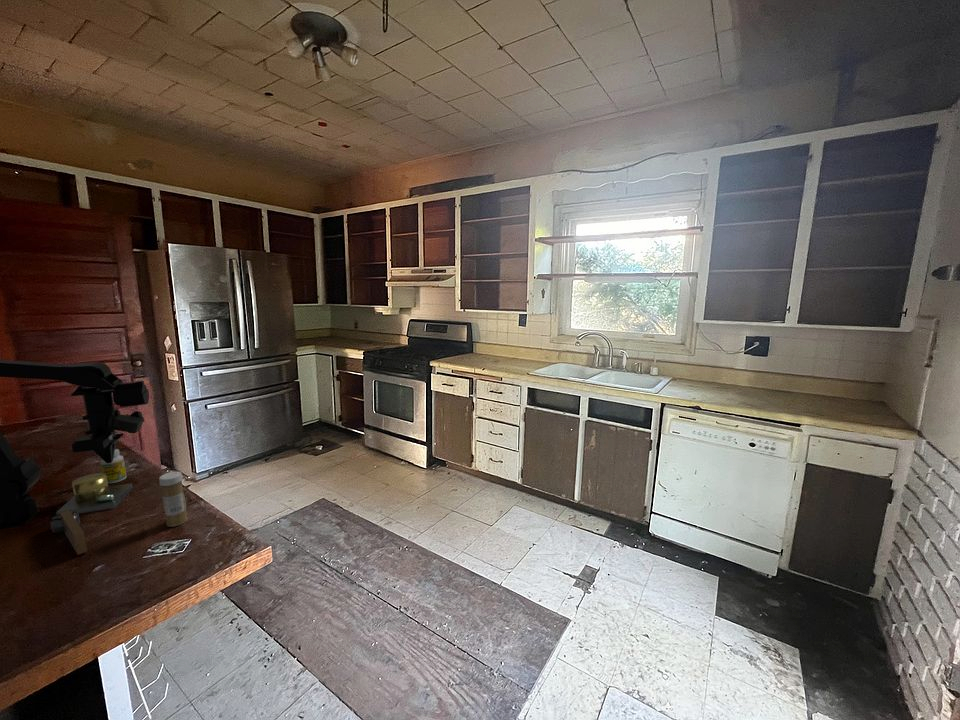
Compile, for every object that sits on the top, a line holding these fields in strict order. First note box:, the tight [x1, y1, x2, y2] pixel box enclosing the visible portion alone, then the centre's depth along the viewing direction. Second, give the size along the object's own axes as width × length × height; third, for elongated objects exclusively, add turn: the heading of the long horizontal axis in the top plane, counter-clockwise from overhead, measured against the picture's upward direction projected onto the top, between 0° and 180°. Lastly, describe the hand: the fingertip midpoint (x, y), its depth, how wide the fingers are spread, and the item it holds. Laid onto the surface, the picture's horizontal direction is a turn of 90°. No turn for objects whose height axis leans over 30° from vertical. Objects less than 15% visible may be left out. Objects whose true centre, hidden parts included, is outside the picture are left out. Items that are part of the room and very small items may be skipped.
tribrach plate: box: [55, 472, 133, 515], centre depth 112 cm, size 12×12×6 cm
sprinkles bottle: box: [158, 471, 189, 528], centre depth 102 cm, size 5×5×13 cm
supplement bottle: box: [100, 448, 127, 485], centre depth 124 cm, size 5×5×10 cm
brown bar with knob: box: [49, 510, 88, 556], centre depth 96 cm, size 20×5×5 cm, turn 55°
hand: (109, 462), depth 110 cm, fingers closed
